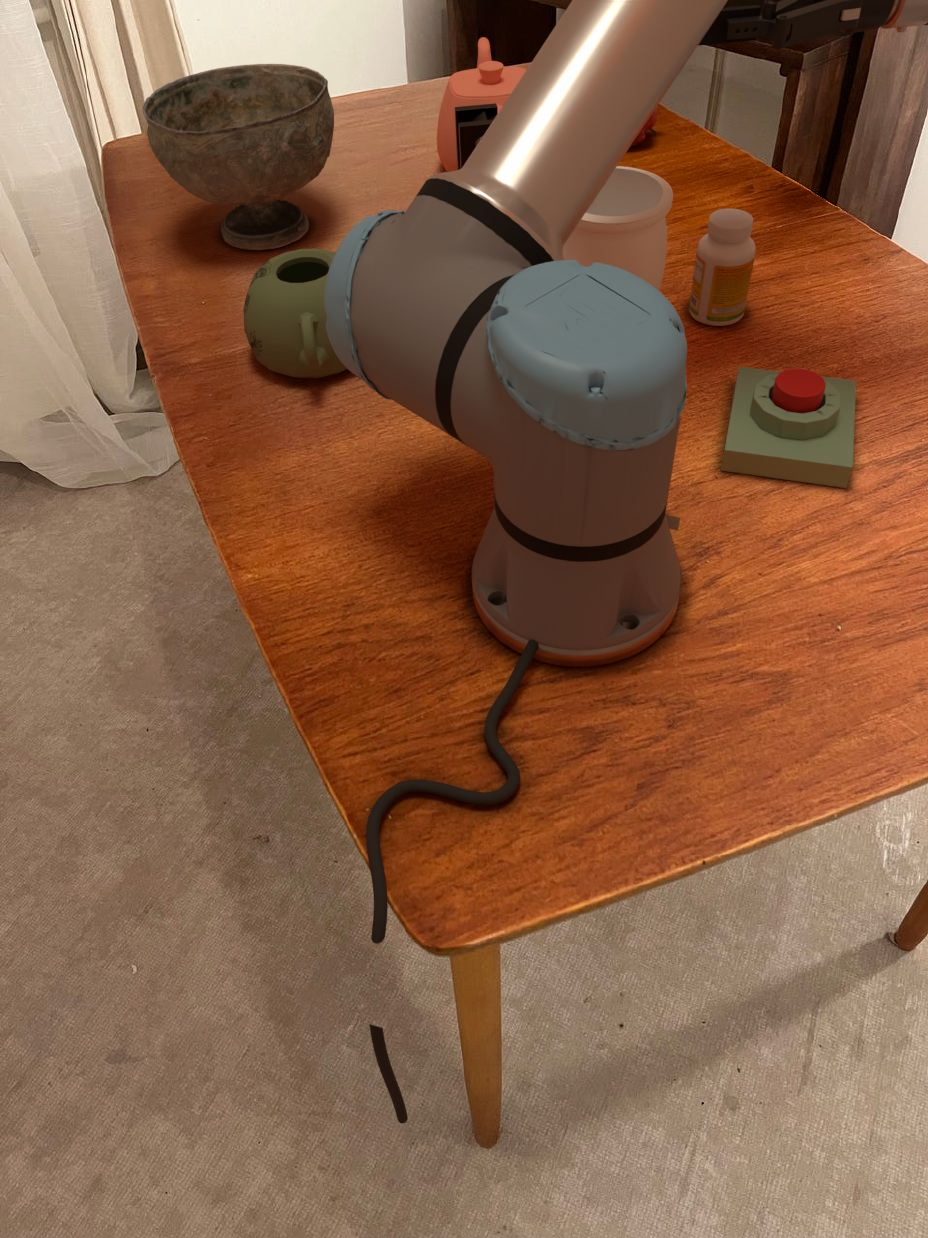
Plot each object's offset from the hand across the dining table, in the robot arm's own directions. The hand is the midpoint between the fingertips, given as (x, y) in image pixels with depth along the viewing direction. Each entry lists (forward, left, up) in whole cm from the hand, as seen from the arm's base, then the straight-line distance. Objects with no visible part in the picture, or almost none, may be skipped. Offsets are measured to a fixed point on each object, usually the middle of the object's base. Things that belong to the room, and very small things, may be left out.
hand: (668, 4), depth 94 cm
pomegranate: (+20, +5, -21) cm, 30 cm away
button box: (-36, -18, -21) cm, 45 cm away
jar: (-26, 0, -21) cm, 34 cm away
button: (-36, -18, -18) cm, 44 cm away
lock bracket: (-7, +17, -21) cm, 28 cm away
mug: (-34, +27, -21) cm, 48 cm away
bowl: (-10, +43, -21) cm, 49 cm away
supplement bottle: (-18, -10, -21) cm, 30 cm away
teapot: (+9, +20, -21) cm, 31 cm away
